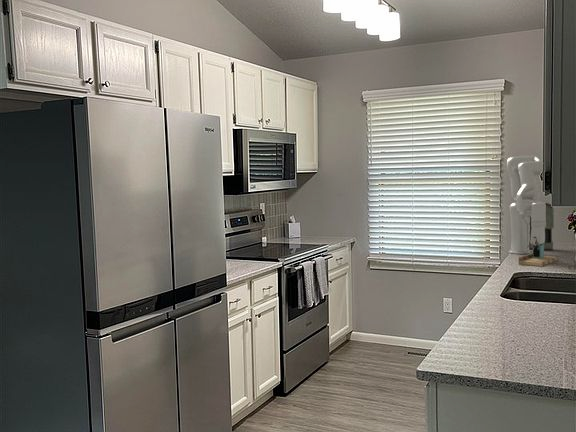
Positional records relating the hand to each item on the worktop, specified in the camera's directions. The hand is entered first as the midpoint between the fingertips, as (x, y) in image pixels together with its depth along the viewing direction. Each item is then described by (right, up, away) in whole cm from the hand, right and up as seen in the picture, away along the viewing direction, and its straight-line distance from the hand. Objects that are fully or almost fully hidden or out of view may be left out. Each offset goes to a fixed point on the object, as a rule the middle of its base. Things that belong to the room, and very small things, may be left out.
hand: (538, 255), depth 316 cm
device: (+21, +1, +42) cm, 47 cm away
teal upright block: (0, -1, 0) cm, 1 cm away
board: (-2, -3, -5) cm, 6 cm away
